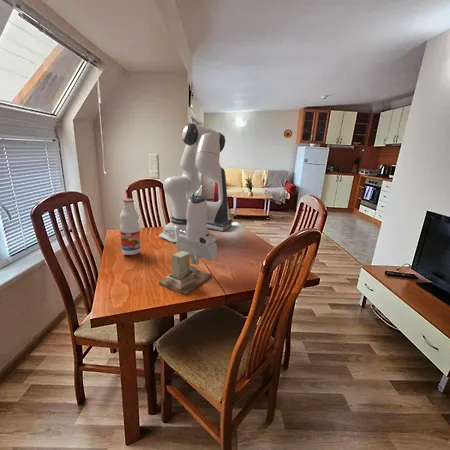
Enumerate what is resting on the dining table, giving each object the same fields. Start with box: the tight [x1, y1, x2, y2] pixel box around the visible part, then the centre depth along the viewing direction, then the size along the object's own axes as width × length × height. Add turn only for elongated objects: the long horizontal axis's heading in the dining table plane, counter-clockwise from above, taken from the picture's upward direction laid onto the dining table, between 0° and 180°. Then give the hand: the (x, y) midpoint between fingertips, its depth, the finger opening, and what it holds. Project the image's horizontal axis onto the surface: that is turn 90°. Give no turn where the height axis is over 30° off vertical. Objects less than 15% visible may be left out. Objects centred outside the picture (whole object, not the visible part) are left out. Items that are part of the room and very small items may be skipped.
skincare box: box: [171, 250, 191, 281], centre depth 101 cm, size 6×4×12 cm
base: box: [158, 268, 213, 296], centre depth 105 cm, size 14×18×4 cm
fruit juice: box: [119, 198, 142, 256], centre depth 127 cm, size 9×9×28 cm
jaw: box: [189, 265, 198, 276], centre depth 107 cm, size 5×3×4 cm, turn 59°
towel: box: [206, 217, 234, 232], centre depth 180 cm, size 15×18×8 cm
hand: (195, 263), depth 110 cm, fingers closed
